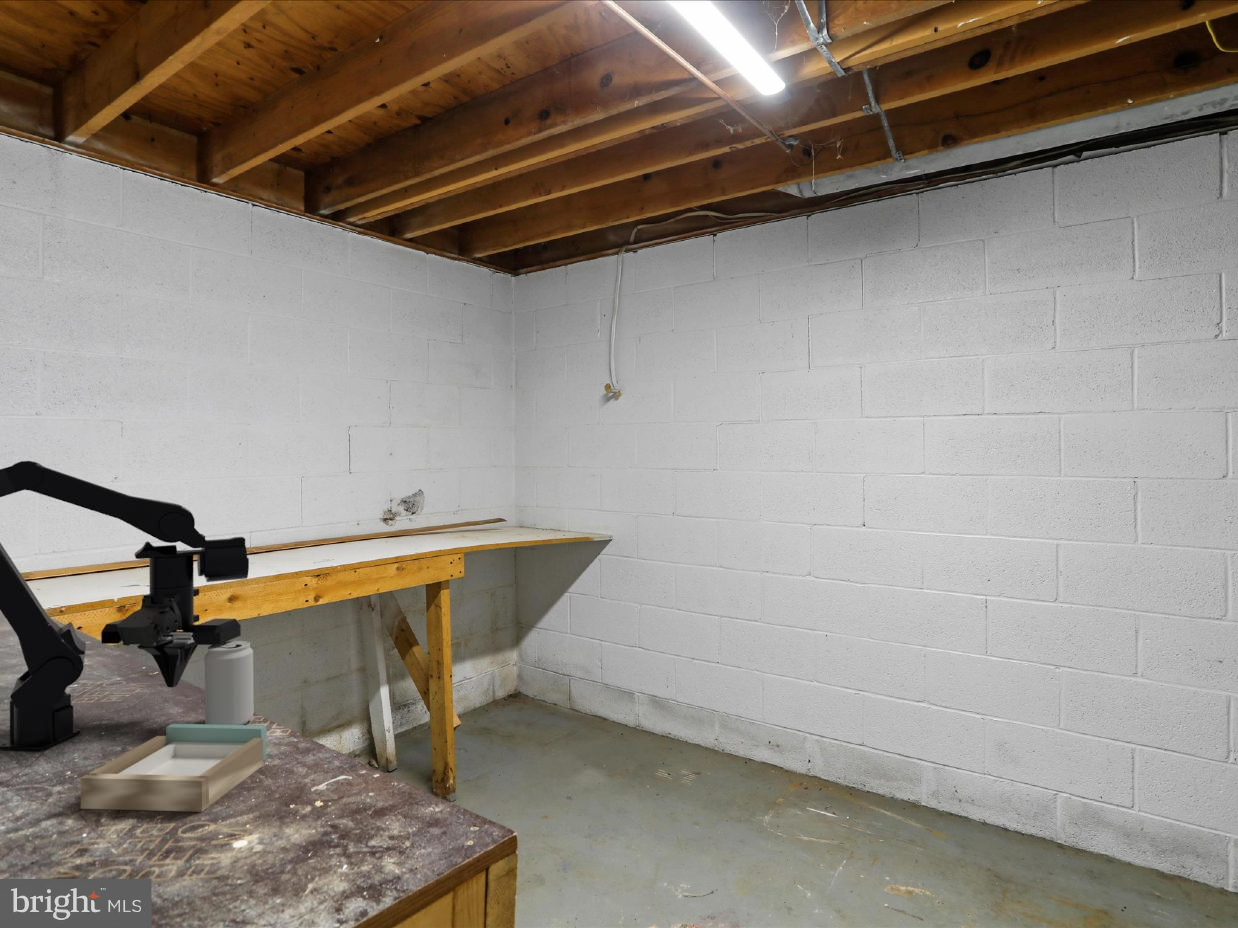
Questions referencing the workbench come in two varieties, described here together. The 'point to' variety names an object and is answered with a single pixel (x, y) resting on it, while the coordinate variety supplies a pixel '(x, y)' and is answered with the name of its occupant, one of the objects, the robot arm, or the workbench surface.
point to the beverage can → (229, 683)
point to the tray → (196, 748)
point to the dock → (166, 781)
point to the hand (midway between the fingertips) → (172, 686)
